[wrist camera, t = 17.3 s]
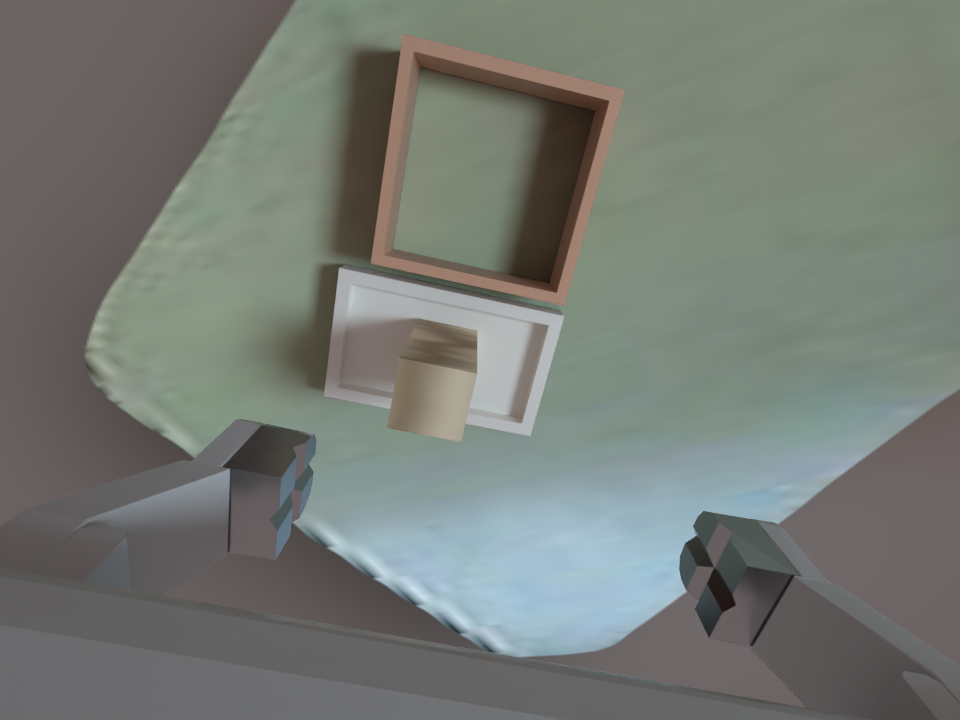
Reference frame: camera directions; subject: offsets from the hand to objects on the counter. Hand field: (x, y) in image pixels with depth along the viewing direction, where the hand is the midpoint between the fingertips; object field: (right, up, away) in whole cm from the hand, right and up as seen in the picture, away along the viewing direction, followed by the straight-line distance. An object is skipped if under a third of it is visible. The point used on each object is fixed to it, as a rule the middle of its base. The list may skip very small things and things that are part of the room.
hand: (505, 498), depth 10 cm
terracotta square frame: (0, +16, +27) cm, 31 cm away
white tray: (-4, +4, +31) cm, 31 cm away
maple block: (-4, +4, +30) cm, 31 cm away
